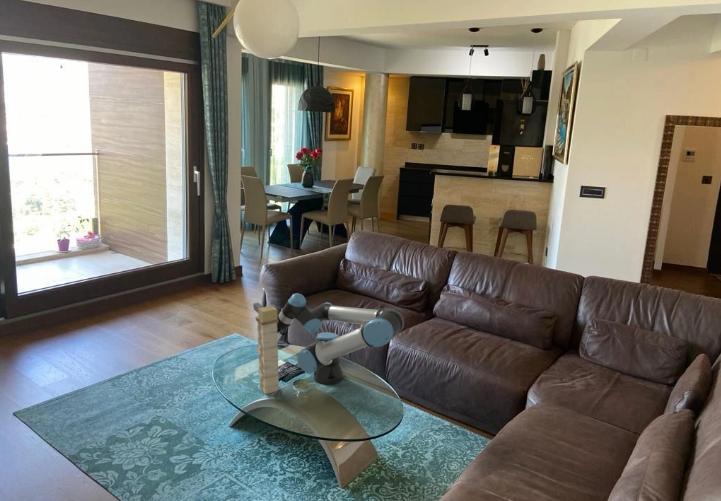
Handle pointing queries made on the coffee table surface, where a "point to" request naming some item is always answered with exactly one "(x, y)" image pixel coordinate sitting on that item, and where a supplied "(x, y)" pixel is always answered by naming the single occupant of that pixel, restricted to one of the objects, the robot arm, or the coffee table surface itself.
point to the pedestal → (268, 355)
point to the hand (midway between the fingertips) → (265, 346)
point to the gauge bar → (265, 312)
